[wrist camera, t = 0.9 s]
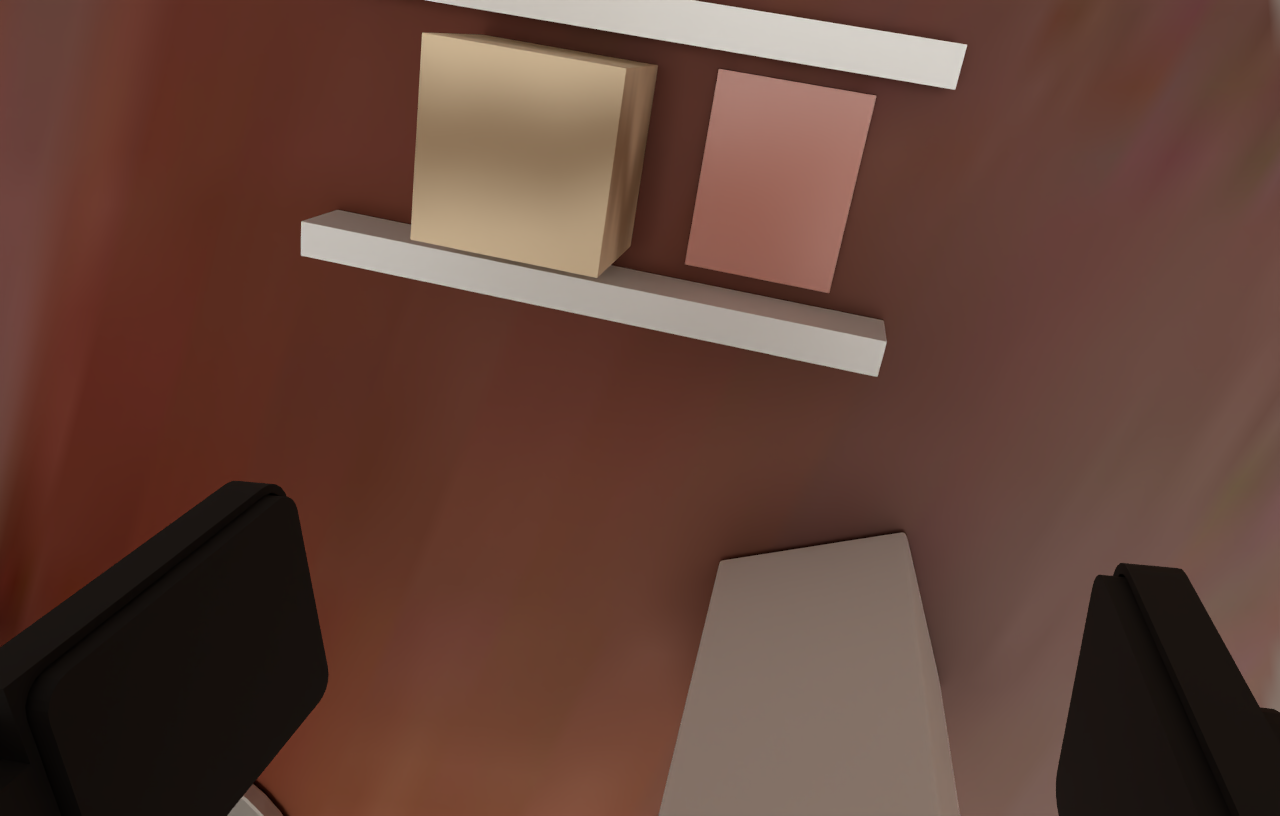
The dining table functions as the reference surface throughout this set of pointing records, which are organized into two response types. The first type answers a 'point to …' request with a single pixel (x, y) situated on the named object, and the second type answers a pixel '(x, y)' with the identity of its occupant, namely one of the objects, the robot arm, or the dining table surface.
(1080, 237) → the dining table surface
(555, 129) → the maple block
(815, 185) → the channel
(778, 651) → the milk carton
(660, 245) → the dining table surface
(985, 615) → the dining table surface
